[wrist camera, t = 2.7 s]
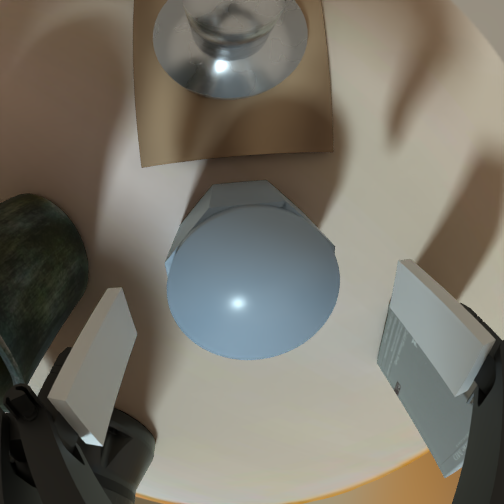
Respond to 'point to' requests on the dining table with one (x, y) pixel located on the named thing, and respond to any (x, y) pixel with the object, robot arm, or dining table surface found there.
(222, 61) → the stud
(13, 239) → the mug
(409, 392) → the skincare box
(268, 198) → the cap
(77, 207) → the dining table surface
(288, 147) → the base board
